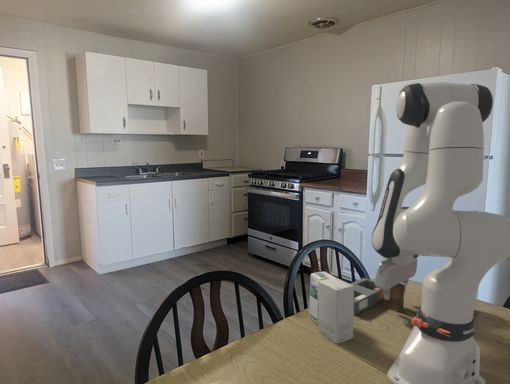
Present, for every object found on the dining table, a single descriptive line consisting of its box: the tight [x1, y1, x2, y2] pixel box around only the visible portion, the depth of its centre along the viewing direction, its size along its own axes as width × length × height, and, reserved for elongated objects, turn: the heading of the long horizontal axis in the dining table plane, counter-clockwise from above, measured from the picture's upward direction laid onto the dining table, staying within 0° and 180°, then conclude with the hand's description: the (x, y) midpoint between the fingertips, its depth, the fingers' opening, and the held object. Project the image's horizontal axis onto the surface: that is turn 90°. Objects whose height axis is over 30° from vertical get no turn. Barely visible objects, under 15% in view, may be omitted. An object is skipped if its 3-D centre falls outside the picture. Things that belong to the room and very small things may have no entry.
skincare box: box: [318, 276, 354, 345], centre depth 100 cm, size 8×7×16 cm
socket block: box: [349, 277, 384, 317], centre depth 122 cm, size 20×10×5 cm, turn 130°
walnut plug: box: [383, 283, 405, 312], centre depth 118 cm, size 4×4×8 cm
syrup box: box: [308, 271, 334, 326], centre depth 109 cm, size 6×6×14 cm
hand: (394, 294), depth 118 cm, fingers open, 8 cm apart
